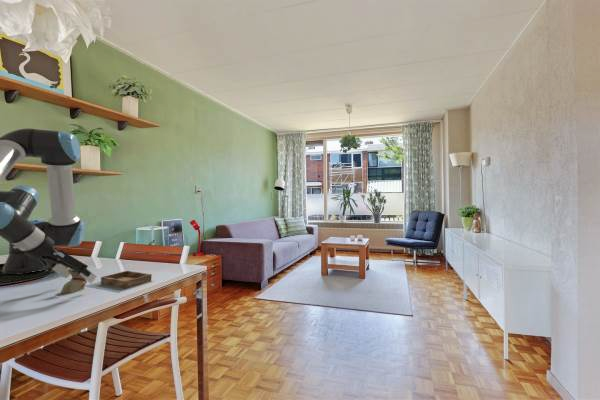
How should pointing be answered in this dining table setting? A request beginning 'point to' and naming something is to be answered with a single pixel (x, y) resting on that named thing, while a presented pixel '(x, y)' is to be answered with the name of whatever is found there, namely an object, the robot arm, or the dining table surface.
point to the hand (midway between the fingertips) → (80, 277)
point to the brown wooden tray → (126, 279)
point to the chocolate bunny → (74, 283)
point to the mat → (111, 287)
